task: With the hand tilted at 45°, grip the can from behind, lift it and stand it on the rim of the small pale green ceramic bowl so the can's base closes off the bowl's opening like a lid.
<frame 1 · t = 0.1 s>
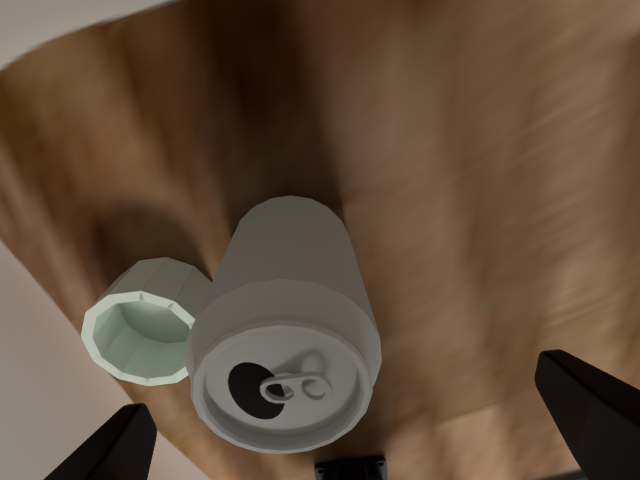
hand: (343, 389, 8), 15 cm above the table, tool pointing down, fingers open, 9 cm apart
can: (292, 245, 23), on the table
bowl: (168, 302, 24), on the table
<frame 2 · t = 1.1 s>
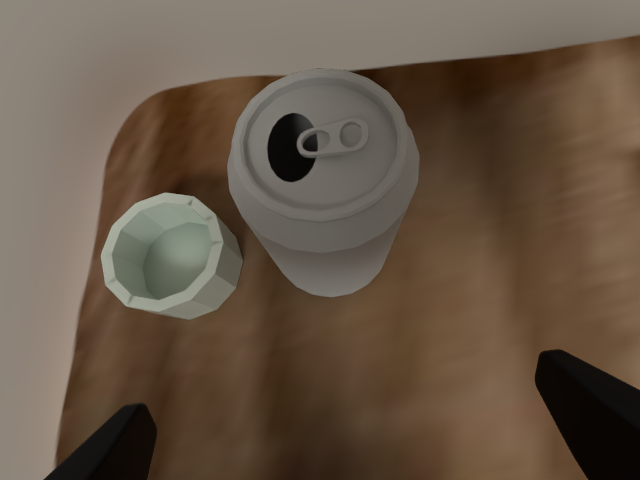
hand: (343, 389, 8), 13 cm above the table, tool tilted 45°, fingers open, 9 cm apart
can: (331, 244, 23), on the table
bowl: (191, 266, 23), on the table
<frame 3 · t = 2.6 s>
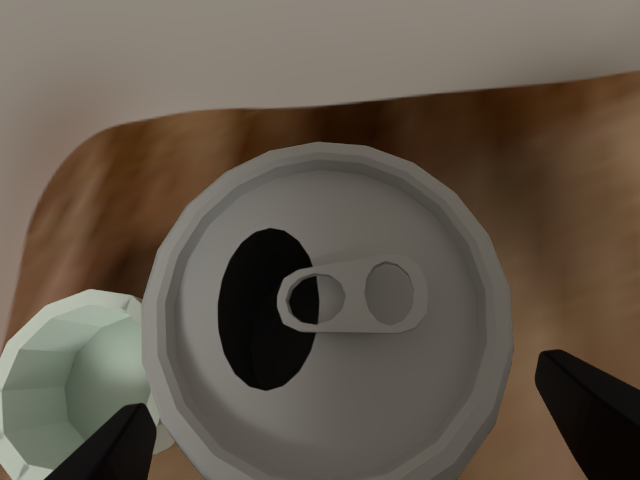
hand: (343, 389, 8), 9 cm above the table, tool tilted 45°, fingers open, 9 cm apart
can: (331, 343, 17), on the table
bowl: (136, 378, 17), on the table
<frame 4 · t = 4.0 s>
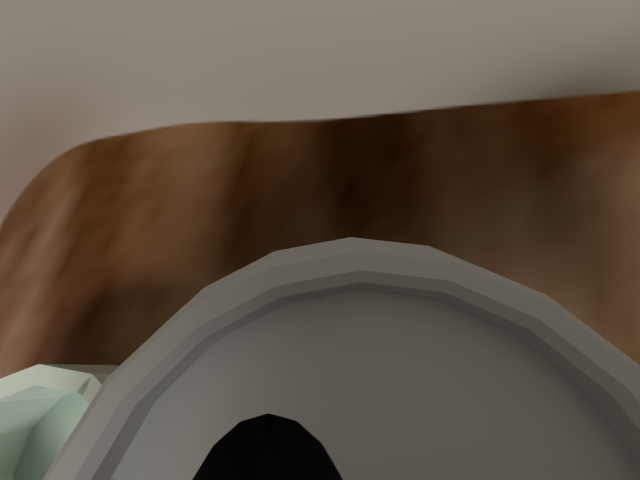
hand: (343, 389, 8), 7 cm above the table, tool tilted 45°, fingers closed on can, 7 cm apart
can: (345, 417, 14), on the table, touching gripper
bowl: (105, 460, 14), on the table
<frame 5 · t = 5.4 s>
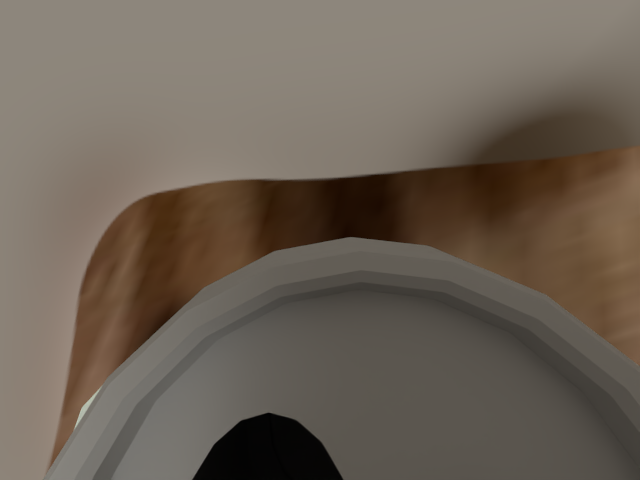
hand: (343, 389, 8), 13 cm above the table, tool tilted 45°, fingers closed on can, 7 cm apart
can: (345, 416, 14), point 6 cm above the table, touching gripper
when the fingers open (12 cm above the table, at t = 7.3 s): can stays where it is, resting on bowl.
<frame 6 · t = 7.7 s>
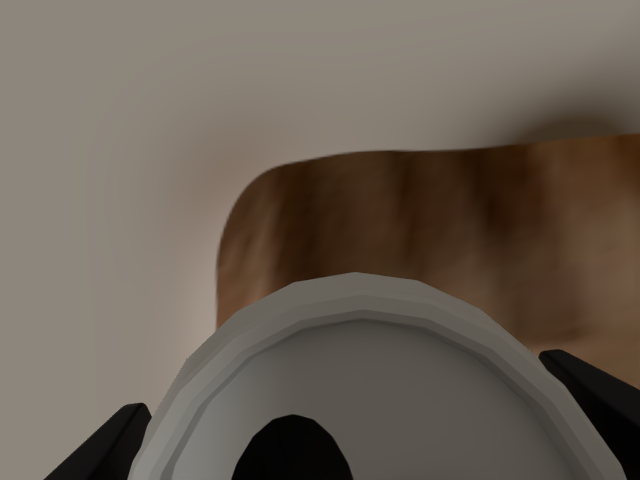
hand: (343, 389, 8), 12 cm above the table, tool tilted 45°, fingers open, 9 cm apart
can: (346, 417, 15), point 4 cm above the table, touching bowl
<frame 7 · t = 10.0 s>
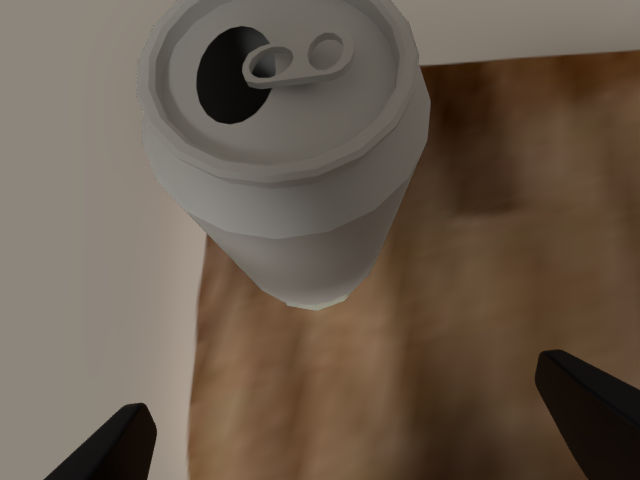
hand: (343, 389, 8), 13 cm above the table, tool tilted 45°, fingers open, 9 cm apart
can: (310, 239, 19), point 4 cm above the table, touching bowl
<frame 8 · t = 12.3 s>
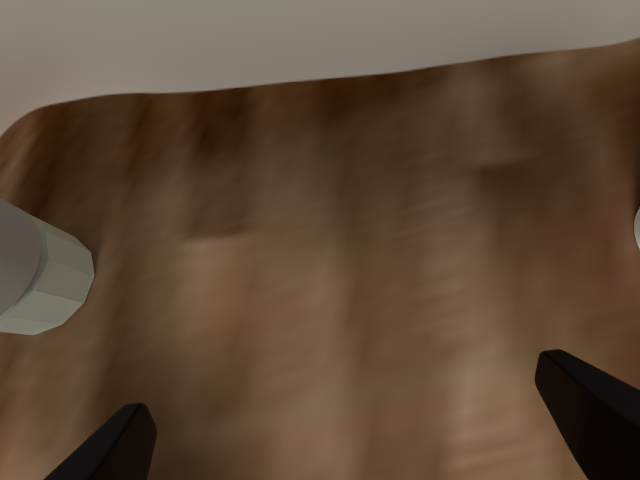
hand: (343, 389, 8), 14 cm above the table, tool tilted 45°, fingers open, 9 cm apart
bowl: (43, 281, 24), on the table
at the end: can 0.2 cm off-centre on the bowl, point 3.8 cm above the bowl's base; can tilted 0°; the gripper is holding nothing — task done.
